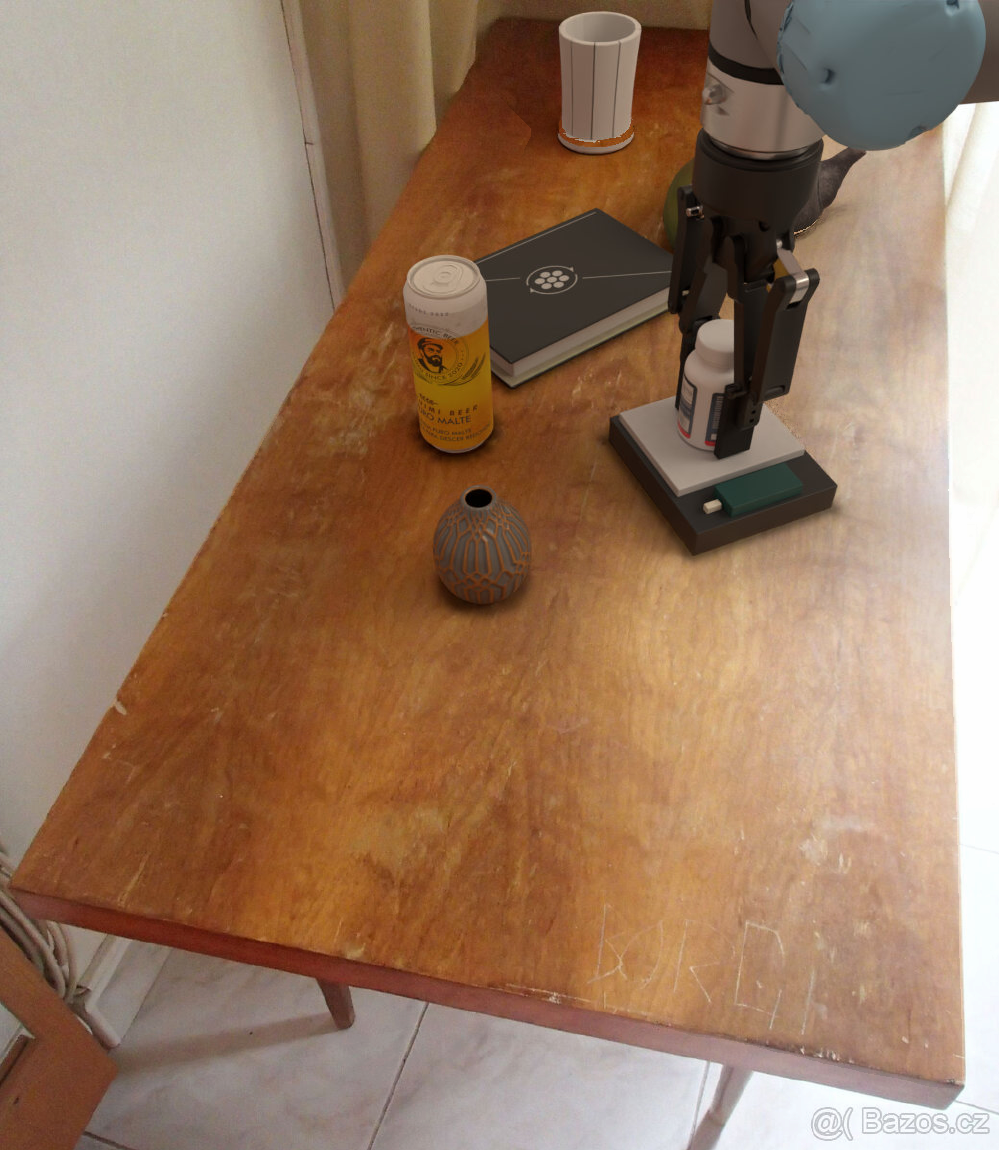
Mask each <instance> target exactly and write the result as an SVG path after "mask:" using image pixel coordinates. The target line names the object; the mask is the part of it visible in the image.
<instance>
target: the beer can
mask: <svg viewBox="0 0 999 1150" xmlns="http://www.w3.org/2000/svg"><path fill="white" fill-rule="evenodd" d="M472 261H473V260H470V259H469V258H466V257H463V256H459V255H455V254H454V255H453V254H452V255H451V254H442V255H434V256H429V257H426V258H423V259H422V260H420V261H418V262H416V263H415V264H413V266H411V268H410V269H409V270H408V272H407V275H406V281H405V283H404V284H403V285H404V286H403V289H402V296H403V302H404V311H405V312H404V313H405V319H406V320H405V321H406V326H407V335H408V342H409V351H410V359H411V366H412V373H413V374H412V375H413V381H414V382H413V383H414V389H415V390H414V391H415V395H416V396H415V398H416V404H417V413H418V414H417V415H418V421H419V429H420V433H421V435H422V437H423V438H424V440H425V441H426V442H428V443H429V444H430V445H432V446H433V447H434V448H436V449H437V450H440V451H442V452H446V453H451V454H459V453H460V454H461V453H466V452H471V451H472V450H475V449H476V448H478V447H479V446H481V445H482V444H483V443H484V442H485V441H486V440H487V439H488V438H489V436H490V435H491V434H492V431H493V429H494V408H493V388H492V386H493V385H492V372H491V366H490V347H489V328H488V309H487V290H486V283H485V280H484V279H483V277H482V276H481V274H480V270H479V268H478V267H477V265H476V264H475V263H473V262H472Z"/></svg>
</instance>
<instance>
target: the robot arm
mask: <svg viewBox="0 0 999 1150" xmlns="http://www.w3.org/2000/svg"><path fill="white" fill-rule="evenodd" d="M712 1H713V2H712V10H711V19H710V26H709V27H710V28H709V36H708V37H709V39H708V46H707V61H706V69H705V76H704V84H703V90H702V92H701V100H702V101H701V108H700V115H699V121H700V123H699V124H700V126H701V128H700V129H699V131H698V132H697V135H696V140H695V148H694V149H695V150H694V156H693V158H694V165H693V174H692V184H689V185H684V186H681V187H679V188H678V189H677V207H678V225H677V232H676V240H675V248H674V250H673V255H674V256H673V263H672V271H671V279H670V287H669V294H668V302H667V305H668V310H669V311H668V312H669V314H670V315H676V314H677V316H678V318H679V319H678V323H677V324H678V329H679V332H680V333H681V342H680V351H679V370H678V378H677V386H676V393H675V396H676V400H675V408H676V409H677V410H678V411H679V406H680V398H681V390H682V382H683V374H684V367H685V362H686V360H687V358H688V356H689V355H690V353H691V352H692V351H693V350H695V343H696V339H697V333H698V330H699V329H700V327H701V326H702V325H703V324H705V323H707V322H709V321H712V320H717V319H722V318H721V316H720V311H721V309H722V307H723V303H724V302H725V299H726V296H727V297H728V298H729V299H731V300H733V320H734V383H732V384H728V385H725V388H724V389H725V391H724V396H723V402H722V408H721V414H720V419H719V425H718V431H717V437H716V442H715V448H714V455H715V456H716V457H717V458H718V460H720V459H723V458H726V457H729V456H732V455H735V454H738V453H741V452H744V451H747V450H750V446H751V441H752V437H753V432H754V427H755V426H757V424H758V423H759V421H760V415H761V411H762V407H763V403H765V402H768V401H771V400H773V399H778V398H780V397H784V396H787V395H788V394H789V393H790V391H791V386H792V382H793V377H794V372H795V369H796V368H795V367H796V363H797V357H798V354H799V349H800V345H801V340H802V335H803V331H804V325H805V320H806V317H807V316H806V315H807V312H808V306H809V303H810V301H811V300H812V298H813V296H814V295H815V292H816V291H817V289H818V288H819V285H820V283H821V279H820V278H821V277H820V273H819V271H818V270H817V269H816V268H814V267H811V268H807V269H802V267H801V265H800V263H799V262H798V260H797V259H796V257H795V255H794V254H793V253H794V250H795V246H796V239H795V235H794V222H795V219H796V218H797V216H798V215H799V213H800V212H801V211H802V209H803V208H804V207H805V206H806V205H807V204H808V202H809V201H810V200H811V198H812V196H813V193H814V189H815V185H816V180H817V176H818V171H819V167H820V162H821V161H822V158H823V153H824V148H825V142H824V139H823V138H824V137H825V136H827V137H828V138H829V139H831V140H832V141H834V142H835V143H837V144H839V145H842V146H844V147H846V148H848V147H849V148H852V149H857V150H863V151H866V152H880V151H887V150H893V149H896V148H899V147H900V146H903V145H905V144H906V143H907V142H909V141H911V140H912V139H915V138H917V137H918V136H920V135H922V134H923V133H926V132H930V131H932V130H934V129H935V128H937V127H938V126H940V125H941V124H942V123H944V122H945V121H946V120H947V118H949V117H950V115H952V114H953V112H954V111H956V109H957V108H958V106H961V105H962V106H963V105H972V104H984V103H997V102H999V0H712ZM683 291H688V292H689V293H688V294H684V295H683Z"/></svg>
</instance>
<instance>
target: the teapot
mask: <svg viewBox="0 0 999 1150" xmlns="http://www.w3.org/2000/svg"><path fill="white" fill-rule="evenodd" d="M866 155H867V151H863V150H857V149H852V148H849V147H846V148H844V149H842V150H841V151H839V152H838V153H835V155H833V156H832V157H830V158H827V159H823V160H821V162H820V167H819V171H818V176H817V180H816V185H815V189H814V193H813V196H812V198H811V200H810V201H809V202H808V204H807V205H806V206H805V207H804V208H803V209H802V211H801V212H800V213H799V215H798V216H797V218H796V219H795V222H794V232H798V231H800V230H803V229H806V228H807V227H809V226H811V225H812V224H813V223H814V222H815V221H816V220H817V219H818V220H819V219H820V217H821V216H822V214H823V212H824V210H825V209H826V208H828V207H830V206H831V205H832V204H833V202H834V201H835V199H836V197H837V195H838V192H839V190H840V188H841V187H842V185H843V182H844V179H845V178H846V177H847V175H848V173H849V171H850V169H851V168H852V167H853V166H854V165H855V164H856V163H857V162H859V161H860V160H861V159H862V158H863V157H864V156H866ZM821 213H822V214H821ZM819 216H820V217H819ZM818 220H817V221H818ZM812 226H813V225H812ZM812 226H811V227H812ZM806 231H807V230H805V231H803V232H800V233H797V234H795V235H794V236H797V235H799V234H801V233H804V232H806Z"/></svg>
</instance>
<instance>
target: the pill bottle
mask: <svg viewBox="0 0 999 1150" xmlns="http://www.w3.org/2000/svg"><path fill="white" fill-rule="evenodd" d="M732 383H734V319H728V318H721V319H717V320H712V321H709V322H707V323H705V324H703V325H702V326H701V327H700V329H699V330H698V333H697V339H696V343H695V350H693V351H692V352H691V353H690V355H689V356H688V358H687V360H686V362H685V367H684V374H683V382H682V390H681V398H680V406H679V414H678V424H677V426H678V431H679V433H680V435H681V437H682V438H683V439H684V440H685V441H686V442H688V443H689V444H691V445H692V446H695V447H697V448H700V449H704V450H710V451H714V448H715V442H716V437H717V431H718V425H719V419H720V414H721V408H722V402H723V396H724V391H725V389H724V388H725V385H728V384H732Z"/></svg>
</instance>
